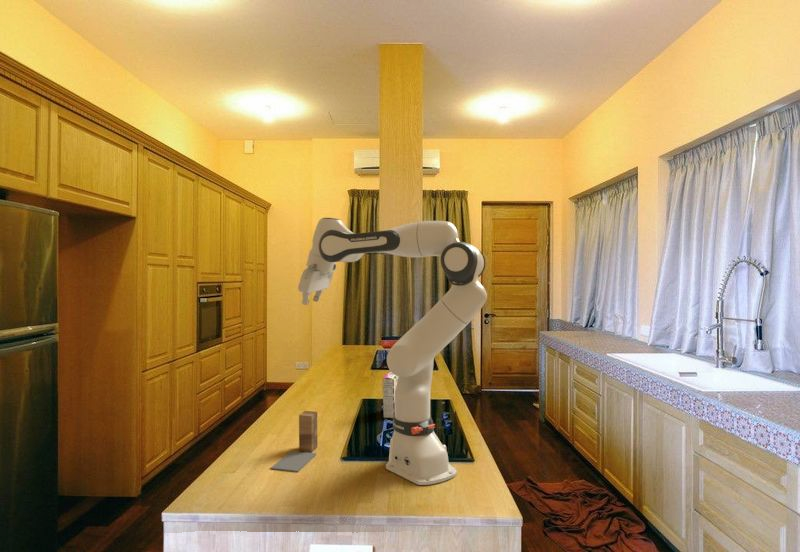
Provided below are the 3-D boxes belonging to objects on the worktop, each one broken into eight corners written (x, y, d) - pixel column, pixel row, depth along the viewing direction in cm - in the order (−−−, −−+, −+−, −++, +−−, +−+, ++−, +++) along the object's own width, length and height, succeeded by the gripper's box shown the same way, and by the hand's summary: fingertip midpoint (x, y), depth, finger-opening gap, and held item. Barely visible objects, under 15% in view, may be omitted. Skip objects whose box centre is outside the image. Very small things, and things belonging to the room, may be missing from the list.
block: (311, 452, 146) (311, 416, 146) (299, 451, 147) (298, 415, 147) (317, 447, 151) (317, 411, 150) (305, 445, 152) (305, 410, 151)
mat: (298, 472, 132) (298, 470, 132) (270, 469, 134) (270, 467, 134) (316, 454, 144) (316, 453, 144) (291, 452, 146) (291, 450, 146)
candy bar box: (388, 409, 191) (388, 371, 191) (399, 410, 190) (399, 372, 190) (382, 418, 180) (382, 377, 180) (394, 418, 179) (394, 378, 179)
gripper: (317, 267, 141) (306, 309, 142) (338, 265, 161) (329, 302, 162) (299, 262, 142) (289, 303, 143) (322, 260, 162) (313, 297, 163)
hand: (310, 302), depth 153 cm, fingers open, 8 cm apart
